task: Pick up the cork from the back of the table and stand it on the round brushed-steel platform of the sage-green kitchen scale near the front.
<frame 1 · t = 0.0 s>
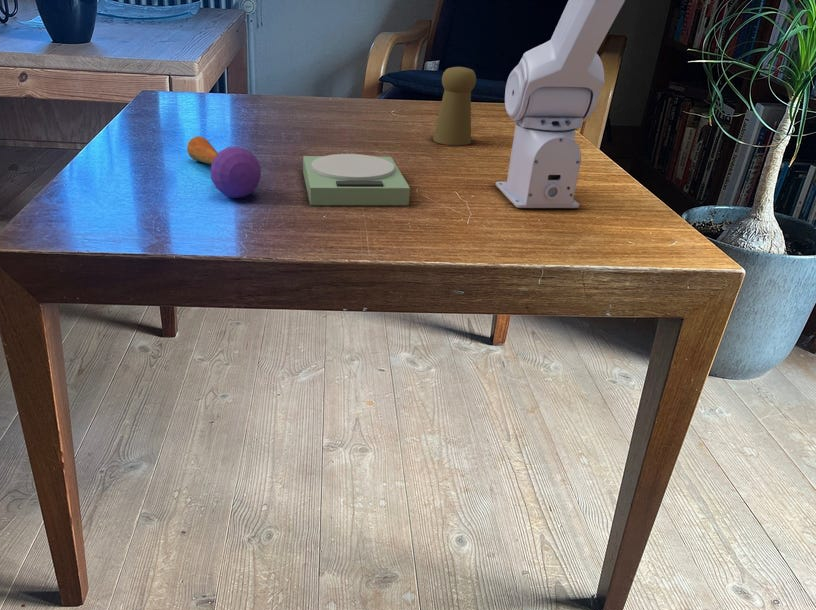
scale: (352, 187, 94), on the table
cork: (451, 141, 118), on the table
maraca: (220, 181, 95), on the table
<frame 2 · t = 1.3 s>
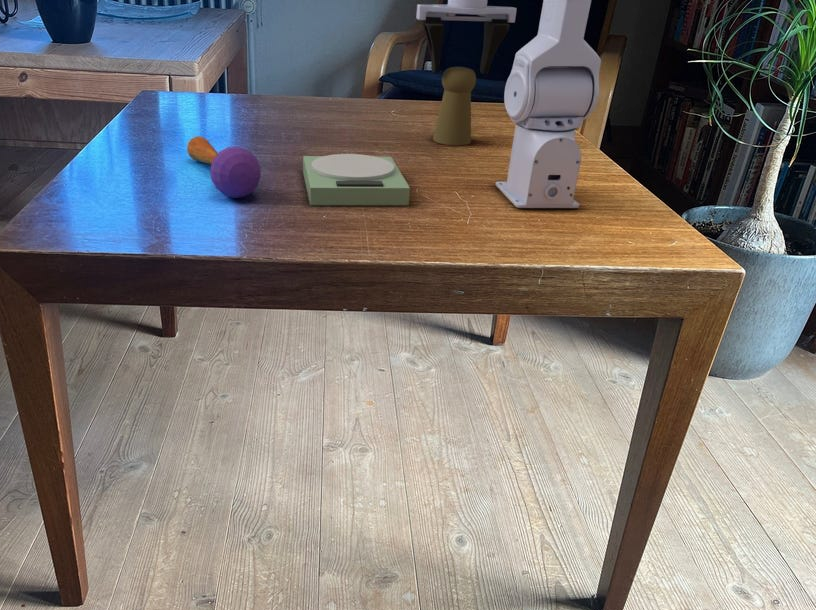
hand: (459, 72, 113), 10 cm above the table, tool pointing down, fingers open, 7 cm apart
nothing on the table moved.
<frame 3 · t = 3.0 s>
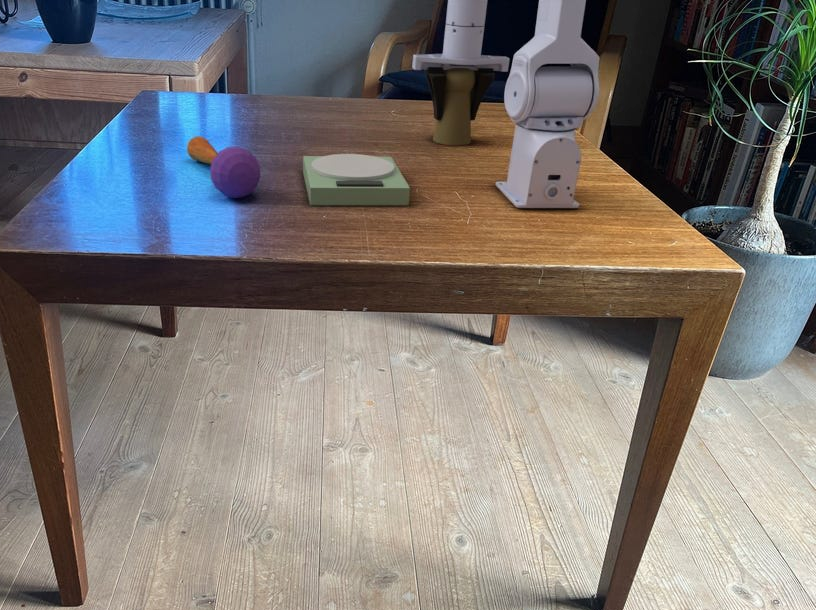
hand: (454, 118, 116), 3 cm above the table, tool pointing down, fingers closed on cork, 5 cm apart
cork: (451, 141, 118), on the table, touching gripper
everything else where it was.
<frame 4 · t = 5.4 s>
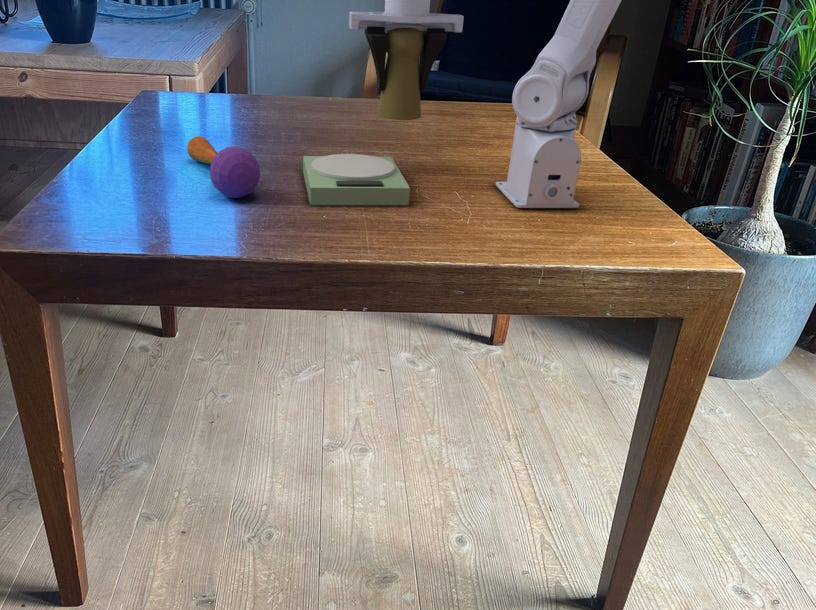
hand: (401, 89, 99), 10 cm above the table, tool pointing down, fingers closed on cork, 5 cm apart
cork: (398, 116, 100), point 7 cm above the table, touching gripper
everything else where it was.
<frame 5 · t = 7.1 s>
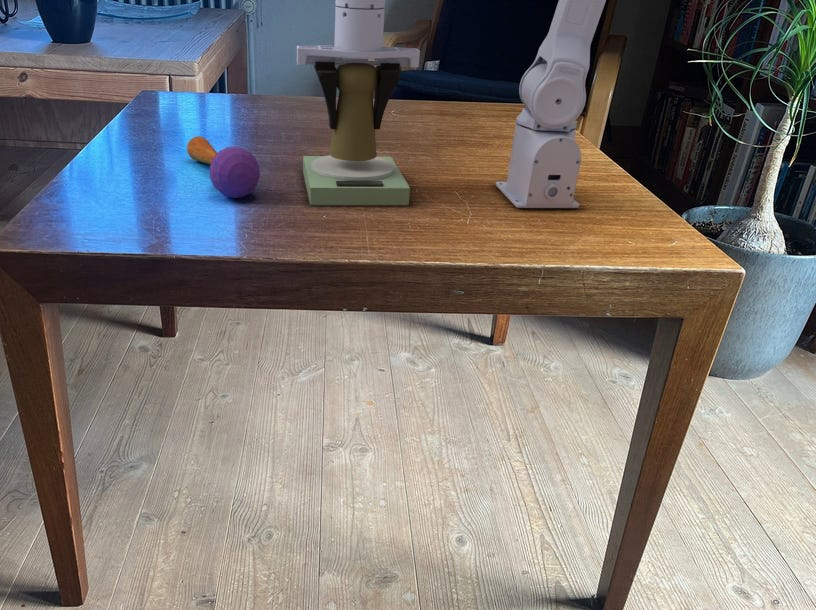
hand: (354, 127, 92), 7 cm above the table, tool pointing down, fingers closed on cork, 5 cm apart
cork: (353, 156, 93), point 4 cm above the table, touching gripper
everything else where it was.
when the fingers open (6 cm above the table, at t = 8.0 s): cork stays where it is, resting on scale.
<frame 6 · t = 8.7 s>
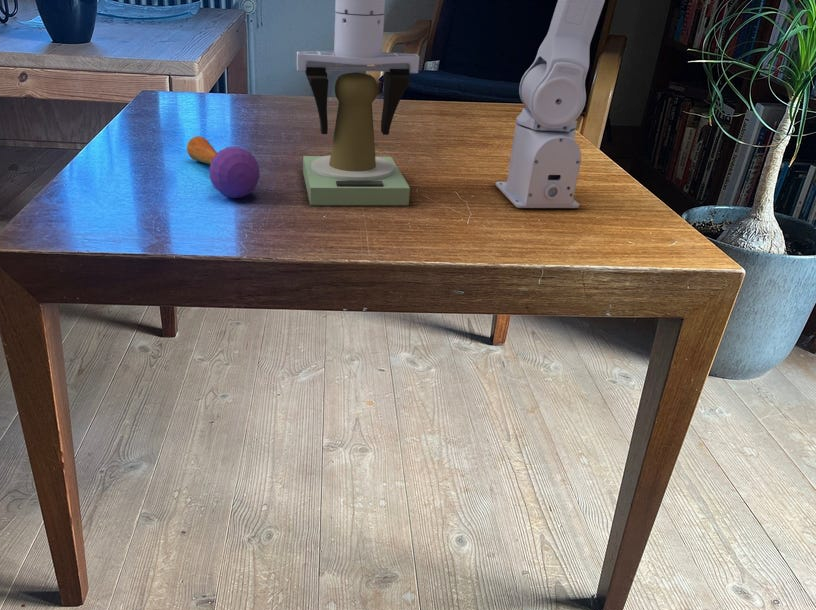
hand: (354, 132, 92), 7 cm above the table, tool pointing down, fingers open, 7 cm apart
cork: (352, 166, 94), point 3 cm above the table, touching scale
everything else where it was.
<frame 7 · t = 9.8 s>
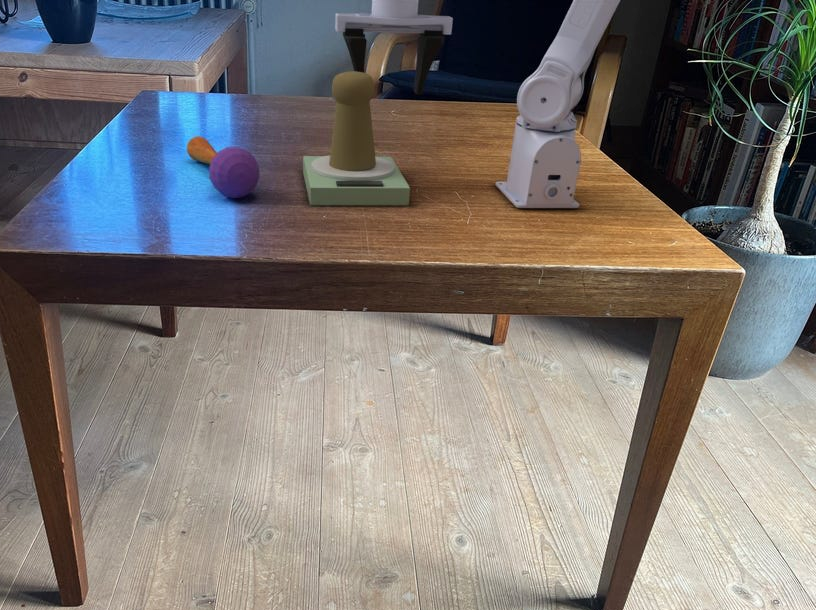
hand: (389, 93, 96), 10 cm above the table, tool pointing down, fingers open, 7 cm apart
nothing on the table moved.
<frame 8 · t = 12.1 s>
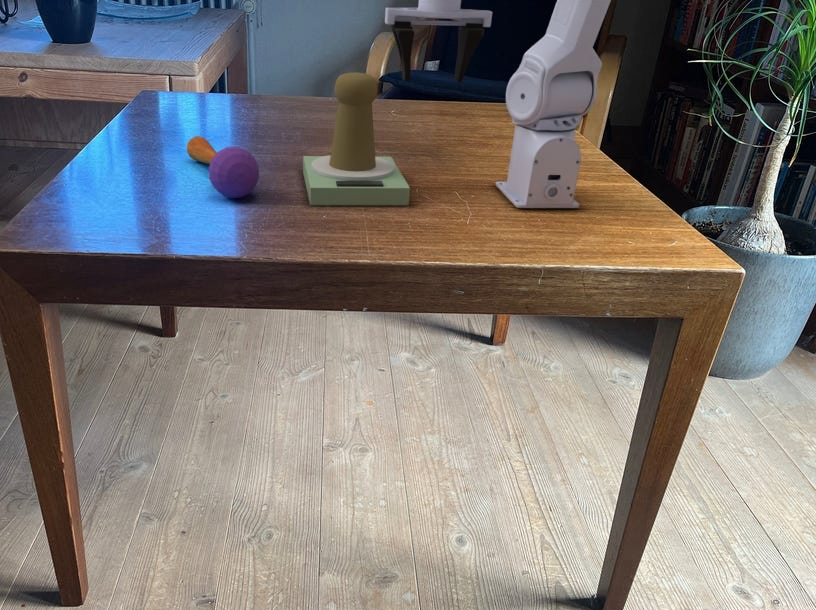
hand: (432, 80, 105), 10 cm above the table, tool pointing down, fingers open, 7 cm apart
nothing on the table moved.
at the end: cork 0.1 cm from the target spot on the scale, point 2.5 cm above the scale's base; cork tilted 0°; the gripper is holding nothing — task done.
